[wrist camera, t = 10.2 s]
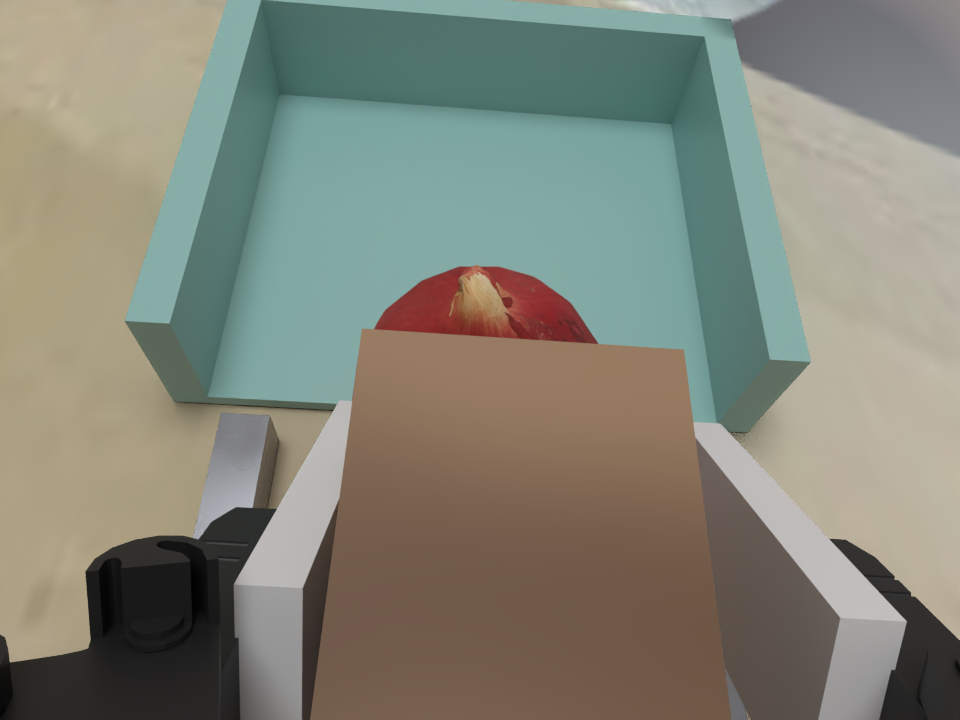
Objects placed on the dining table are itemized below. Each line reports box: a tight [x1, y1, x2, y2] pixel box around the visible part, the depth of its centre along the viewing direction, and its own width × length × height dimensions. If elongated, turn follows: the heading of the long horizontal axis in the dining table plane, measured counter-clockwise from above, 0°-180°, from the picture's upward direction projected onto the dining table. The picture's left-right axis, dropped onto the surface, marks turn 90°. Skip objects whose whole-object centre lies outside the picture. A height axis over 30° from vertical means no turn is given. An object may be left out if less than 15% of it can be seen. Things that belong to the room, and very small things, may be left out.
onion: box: [352, 265, 598, 399], centre depth 17 cm, size 6×6×8 cm
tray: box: [125, 0, 811, 433], centre depth 22 cm, size 13×16×4 cm
